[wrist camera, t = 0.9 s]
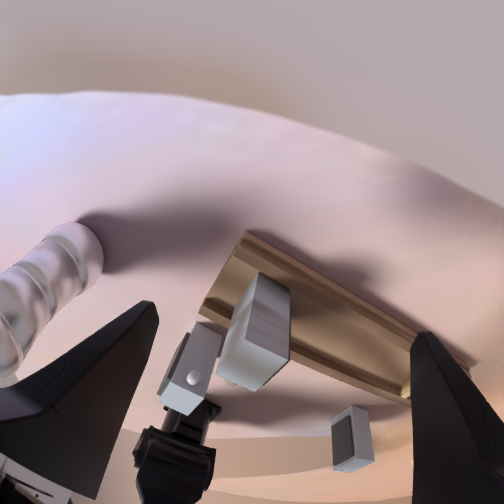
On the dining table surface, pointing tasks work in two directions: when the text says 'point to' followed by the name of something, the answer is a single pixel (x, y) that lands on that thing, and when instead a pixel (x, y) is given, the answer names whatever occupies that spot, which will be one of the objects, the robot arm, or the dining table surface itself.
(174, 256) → the dining table surface
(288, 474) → the dining table surface
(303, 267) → the rail
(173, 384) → the box with small knob
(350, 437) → the grey boxy piece
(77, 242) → the plastic bottle
